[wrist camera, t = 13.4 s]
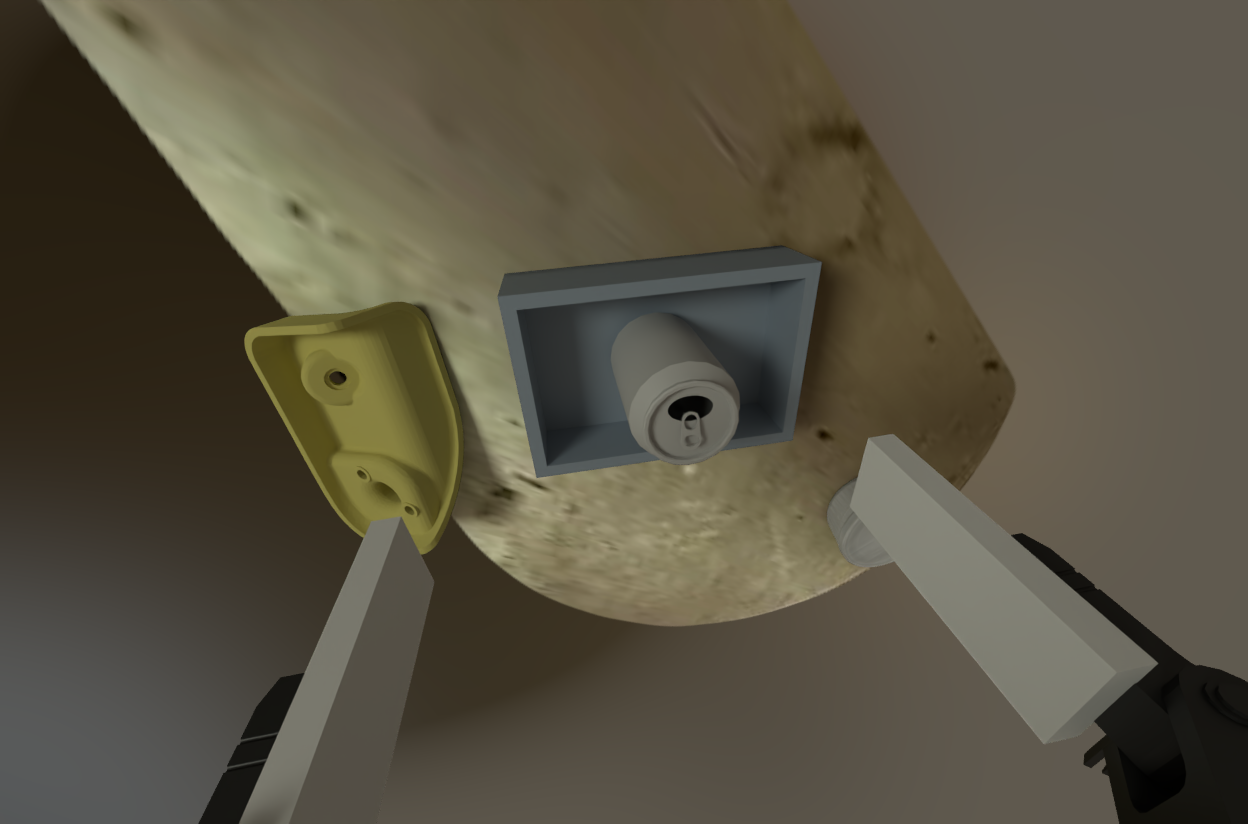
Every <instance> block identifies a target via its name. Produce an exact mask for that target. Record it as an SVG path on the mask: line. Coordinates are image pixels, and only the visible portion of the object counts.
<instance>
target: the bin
mask: <svg viewBox="0 0 1248 824" xmlns="http://www.w3.org/2000/svg"><path fill="white" fill-rule="evenodd" d="M821 264H822V262H820V261H818V260H816V259H813V258H811V257H808V256H806V255H804V254H801V253H799V252H797V251H794V250H792V249H789V248H787V247H785V246H772V247H763V248H753V249H743V250H733V251H723V252H714V253H704V254H694V255H684V256H675V257H665V258H655V259H645V260H635V261H626V262H616V263H606V264H596V265H586V266H577V267H567V268H557V269H547V270H537V271H528V272H518V273H508V274H505V275H504V278H503V281H502V284H501V287H500V290H499V294H498V301H499V306H500V311H501V315H502V320H503V324H504V329H505V334H506V338H507V343H508V348H509V352H510V357H511V362H512V366H513V371H514V375H515V380H516V385H517V389H518V394H519V399H520V403H521V408H522V412H523V417H524V422H525V426H526V431H527V436H528V440H529V445H530V449H531V454H532V459H533V463H534V468H535V473H536V477H537V478H539V477H546V476H553V475H560V474H567V473H573V472H580V471H587V470H594V469H601V468H608V467H614V466H621V465H628V464H635V463H642V462H648V461H655V460H660V459H659V458H657V457H656V456H655V455H652V454H650V453H649V452H648V451H646V450H645V449H643V448H642V447H641V446H639V444H638V443H637V441H636V439H635V438H634V436H633V435H632V433H631V430H630V426H629V423H628V420H627V416H626V413H625V410H624V406H623V403H622V400H621V397H620V393H619V390H618V387H617V383H616V380H615V377H614V373H613V369H612V364H611V360H610V359H611V352H612V346H613V344H614V342H615V340H616V338H617V335H618V333H619V332H620V331H621V330H622V329H623V328H624V327H625V326H626V325H627V324H628V323H629V322H631V321H633V320H635V319H636V318H638V317H640V316H642V315H646V314H651V313H655V312H658V313H669V314H672V315H674V316H677V317H679V318H681V319H683V320H684V321H685V322H686V323H687V324H688V325H689V326H690V327H691V328H692V329H693V330H694V331H695V333H696V334H697V335H698V336H699V338H700V339H701V340H702V341H703V343H704V344H705V345H706V346H707V348H708V349H709V350H710V351H711V353H712V354H713V355H714V356H715V358H716V359H717V360H718V361H719V362H720V364H721V365H722V366H723V367H724V369H725V370H726V371H727V372H728V374H729V375H730V376H731V377H732V379H733V380H734V382H735V384H736V387H737V389H738V391H739V396H740V410H739V422H738V425H737V429H736V432H735V434H734V436H733V437H732V439H731V440H730V441H729V443H728V444H727V446H725V447H724V448H723V449H722V450H721V451H723V450H730V449H737V448H744V447H751V446H757V445H764V444H771V443H778V442H785V441H791V440H793V434H794V428H795V422H796V416H797V410H798V404H799V398H800V392H801V386H802V380H803V374H804V367H805V361H806V355H807V349H808V343H809V337H810V331H811V325H812V319H813V313H814V307H815V301H816V294H817V288H818V282H819V276H820V270H821Z"/></svg>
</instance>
